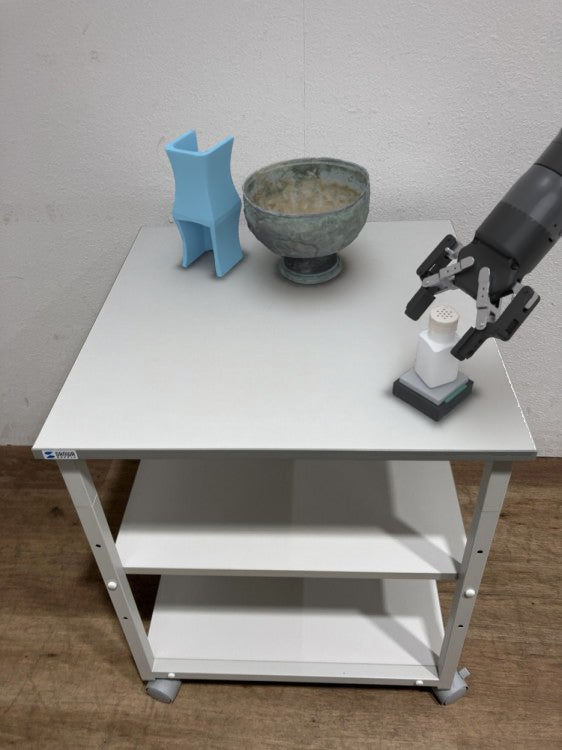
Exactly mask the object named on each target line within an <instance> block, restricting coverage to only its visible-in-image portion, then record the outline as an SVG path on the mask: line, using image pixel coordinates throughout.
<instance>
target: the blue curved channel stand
mask: <svg viewBox="0 0 562 750" xmlns="http://www.w3.org/2000/svg"><path fill="white" fill-rule="evenodd" d="M197 139H198V138H197V132H196V129H190V130H188V131H187V132H185V133H183V134H182V135H180V136H178V137H177V138H175V139H174V140H172V141H170V142H169V143H167V144H166V145H165V146H164V150H165V151H164V152H165V153H166V156H167V158H168V160H169V163H170V166H171V170H172V173H173V178H174V188H175V189H174V199H173V205H172V209H171V214H172V218H173V219H172V220H173V221H174V223H175V225H176V227H177V230H178V232H179V235H180V238H181V242H182V250H183V251H182V262H181V263H182V265H181V267H183V268H187V267H189V266H190V265H191V264H192V263H193V262H194V261H196V260H197V259H198V258H199V257H200V256H202V255H203V254H204V253H205V252H207V251H208V252H209V251H211V250H212V251H213V258H214V264H215V271H216V277H219V278H223V277H224V276H225V275H226V274H227V273H229V271H230V270H231V269H232V268H233V267H235V266H236V265H237V264H238V263H239V262H240V261H241V260H242V259H243V258H244V253H243V249H242V246H241V242H240V233H239V232H240V231H239V229H240V228H239V227H240V217H241V213H242V205H243V204H242V202H243V201H242V198H241V197H240V194H239V193H238V190H237V189H236V187H235V185H234V181H233V177H232V173H231V172H232V171H231V160H232V153H233V146H234V141H235V137H234V136H232V135H229V136H227V137H226V138H225V139H223V140H222V141H220V142H218V143H217V144H215V145H213V147H211V148H209V149H208V150H203V151H199V145H198V140H197Z"/></svg>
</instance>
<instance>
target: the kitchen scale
mask: <svg viewBox="0 0 562 750" xmlns="http://www.w3.org/2000/svg"><path fill="white" fill-rule="evenodd" d="M474 384H475V381H474V380H472V379H470V376H469V375H467V374H464V372H463V373H462V372H461V371H459V370H458V373H457V378H456V379H455V380H454V381H452V382H449V383H446V384H443V385H440V386H437V387H434V388H430V387H428V386H427V385H426V384H425V382H424V381H423V380H422V379H421V378H420V376H419V375H418V374H417V373H416V371H415V365H414V366H413V367H412V368H410V369H409V370H408V371H406V372H405V373H403V374H402V375H400V377H398V378H397V379H395V380H394V381H393V383H392V393H391V394H393V395H394V396H395V397H397V398H399V399H400V400H402V401H404V402H405V403H407V404H409V405H410V406H411V407H413V408H415V409H417V411H419V412H421V413H423V414H424V415H426V416H427V417H429V418H431V419H432V420H434V421H435V422H439V421H440V420H442V418H444V417H445V416H446V415H447V414H448V413H449V412H451V411H452V410H453V409H454V408H456V407H457V406H458V405H459V404H460V403H462V402H463V401H464V400H465V399H467V398H468V397H469V396H470V395H471V394H472V393H473V389H474Z"/></svg>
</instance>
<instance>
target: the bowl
mask: <svg viewBox="0 0 562 750" xmlns="http://www.w3.org/2000/svg"><path fill="white" fill-rule="evenodd" d="M241 190H242V200H243V201H242V202H243V214H244V218H245V221H246V225H247V228H248V230H249V232H251V234H252V235H253V236H254V238H255V239H256V240H257V241H259V242H260V243H261V244H262V245H263V246H264V247H265V248H267V250H269V251H270V252H272V253H273V254H275V255H277V256H281V258H280V260H279V271H280V274H281V275H282V276H283V277H285V278H286V279H287V280H289V281H291V282H294V283H296V284H303V285H315V284H321V283H325V282H328V281H330V280H333V279H334V278H335V277H337V276H338V275H339V274H340V273H341V271H342V269H343V265H342V263H343V262H342V259H341V257H340V256H339V254H338V252H339V251H341V250H343V249H345V248H347V247H348V246H350V244H352V243H353V242H354V241H355V240H356V239H357V238H358V236H359V234H360V233H361V232H362V230H363V229H364V227H365V226H366V223H367V221H368V216H369V213H370V204H371V183H370V173H369V172H368V170H367V168H366V167H364V166H362V165H360V164H358V163H355V162H352V161H349V160H345V159H340V158H335V157H328V156H327V157H324V156H323V157H315V156H313V157H306V156H305V157H297V158H296V157H295V158H289V159H288V158H287V159H284V160H279V161H275V162H272V163H269V164H266V165H264V166H261V167H259V168H257V169H256V170H254V171H253V172H251V173H249V174H248V175H247V177H246V178H245V179H244V180H243V181H242V186H241Z"/></svg>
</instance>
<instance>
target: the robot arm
mask: <svg viewBox="0 0 562 750" xmlns="http://www.w3.org/2000/svg"><path fill="white" fill-rule="evenodd" d="M561 238H562V126H561V127H560V129H559V131H558V132H557V134H556V135H555V136H554V138H552V140H551V141H550V143H549V144H548V145H547V146H546V147H545V149H543V151H542V152H541V153H540V154H539V156H538V157H537V159H536V160H535V161H534V162H533V163H532V164H531V166H530V167H529V168H528V169H527V170H526V171H525V172H523V174H522V175H520V176H519V178H518V179H517V180H516V181H515V182H514V183H513V184H512V185H511V187H509V189H508V190H507V192H505V194H504V195H503V196H502V197H501V198H500V200H499V201H498V203H496V205H495V206H494V208H493V209H492V210H491V211H490V213H489V214H488V215H487V216H486V217H485V219H484V220H483V221H482V222H481V223H480V225H479V226H478V227H477V228H476V230H475V232H474V236H473V239H472V240H471V242H469V243H468V244H466V245H463V243H462V242H461V241H459V239H457V238H456V237H455V236H454V235H453V234H452V233H449V234H446V235H445V236H444V237H443V238H442V240H441V241H440V242H439V243H438V244H437V245H436V247H435V248H434V249H433V250H432V251H431V252H430V254H428V256H427V257H426V258H425V259H424V260H423V262H422V263H420V265H419V266H418V267H417V268H416V271H415V273H416V276H418V277H419V278H420V279H419V280H420V281H421V284H420V285H421V286H420V288H418V290H417V291H416V292H415V294H414V295H413V296H412V298H410V300H408V302H407V304H406V306H405V310H404V315H405V316H407V317H408V318H409V319H410V320H411V321H413V322H417V321H418V320H420V319H421V317H422V316H423V315H424V313H425V312H426V311H427V310H428V309H429V307H430V306H432V304H433V302H434V301H435V300H437V297H436V296H437V295H439V294H443V293H445V292H447V291H456V290H461V292H463V293H465V294H466V295H468V296H469V297H470V298H471V299H473V300H474V301H475V307H476V318H475V327H473V326H472V325H471V326H470V327H469V328H468V330H467V331H465V333H464V334H463V336H461V337H460V338H461V339H460V340H459V341H458V343H457V344H456V345H455V346H454V347H453V348H452V350H451V351H450V354H451V355H453V356H454V357H455V358H456V359H458V360H460V362H463V361H465V360H469V359H471V358H472V357H473V356H474V355H475V353H476V352H477V351H478V350H479V349H480V348H481V346H482V345H483V344H484V343H485V342H487V340H488V339H491V338H493V339H498V340H500V341H502V342H505V343H506V342H509V341H510V340H511V339H512V338H513V336H514V335H515V333H517V331H518V330H519V329H520V327H521V326H522V325H523V323H524V322H525V321H526V320H527V318H528V317H529V316H530V315H531V313H532V312H533V311H534V310H535V308H536V307H537V306H538V305H539V303H540V302H541V295H539V293H538V292H537V291H536V290H535V289H534V288H533V287H531V286H530V285H525V284H522V283H523V279H524V278H525V277H526V276H527V275H528V274H530V273H532V272H533V271H534V270H535V269H536V267H538V265H539V264H540V262H541V261H542V260H543V259H544V258H545V257H546V256H547V255H548V254H549V252H550V251H551V250H552V249H553V248H554V246H555V245H556V244H557V243H558V242H559V241H560V239H561ZM454 260H456V263H453V264H450V263H451V262H452V261H454ZM507 296H511V298H510V300H511V301H510V303H508V305H507V306H506V307H505V309H504V310H503V311H502V305H503V298H504V297H507ZM501 312H502V313H501Z"/></svg>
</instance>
